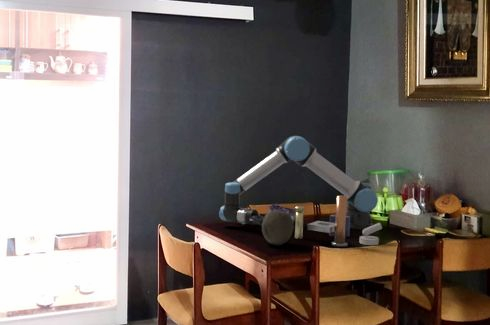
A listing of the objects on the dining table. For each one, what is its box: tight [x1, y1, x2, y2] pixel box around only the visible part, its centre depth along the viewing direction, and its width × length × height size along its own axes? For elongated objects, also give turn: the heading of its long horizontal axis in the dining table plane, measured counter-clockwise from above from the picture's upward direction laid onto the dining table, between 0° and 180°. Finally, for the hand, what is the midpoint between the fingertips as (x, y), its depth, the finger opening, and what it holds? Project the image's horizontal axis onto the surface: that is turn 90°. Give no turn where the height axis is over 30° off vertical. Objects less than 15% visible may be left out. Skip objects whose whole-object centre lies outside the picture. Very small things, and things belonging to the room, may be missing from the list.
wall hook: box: [358, 222, 383, 246], centre depth 271 cm, size 9×10×10 cm
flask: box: [328, 213, 351, 238], centre depth 285 cm, size 10×3×12 cm, turn 74°
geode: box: [267, 202, 296, 223], centre depth 319 cm, size 20×12×10 cm, turn 34°
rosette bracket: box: [306, 195, 348, 248], centre depth 267 cm, size 17×11×22 cm, turn 58°
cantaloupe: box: [261, 211, 295, 247], centre depth 262 cm, size 14×14×15 cm
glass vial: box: [294, 205, 305, 240], centre depth 277 cm, size 4×4×14 cm
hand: (286, 221), depth 281 cm, fingers open, 13 cm apart
